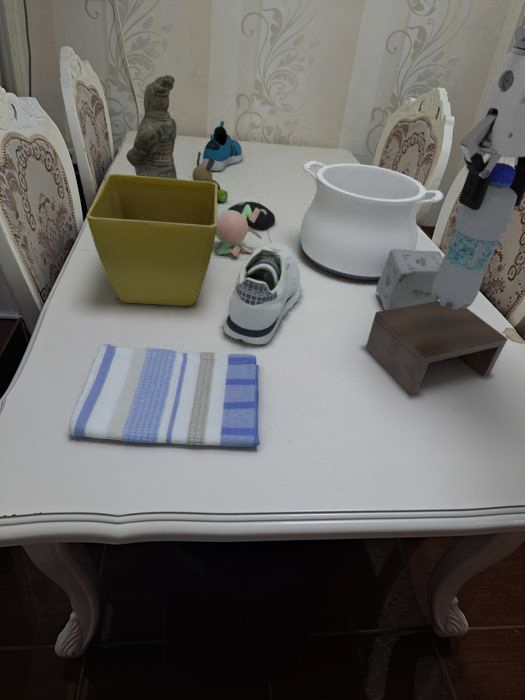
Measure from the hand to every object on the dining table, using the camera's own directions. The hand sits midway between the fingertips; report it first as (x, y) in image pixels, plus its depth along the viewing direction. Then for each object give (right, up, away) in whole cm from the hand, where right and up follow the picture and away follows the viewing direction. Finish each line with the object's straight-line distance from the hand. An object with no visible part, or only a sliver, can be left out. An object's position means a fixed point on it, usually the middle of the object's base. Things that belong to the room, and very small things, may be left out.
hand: (488, 203), depth 63 cm
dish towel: (-42, -26, +3) cm, 49 cm away
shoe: (-41, +40, +89) cm, 105 cm away
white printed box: (-2, -11, +29) cm, 31 cm away
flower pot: (-48, -8, +26) cm, 55 cm away
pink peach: (-35, +3, +41) cm, 55 cm away
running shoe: (-28, -11, +25) cm, 40 cm away
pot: (-10, +1, +44) cm, 45 cm away
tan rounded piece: (-44, +20, +62) cm, 79 cm away
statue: (-54, +10, +48) cm, 73 cm away
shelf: (-3, -21, +16) cm, 26 cm away
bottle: (-2, -12, +9) cm, 15 cm away
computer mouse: (-33, +12, +54) cm, 64 cm away
